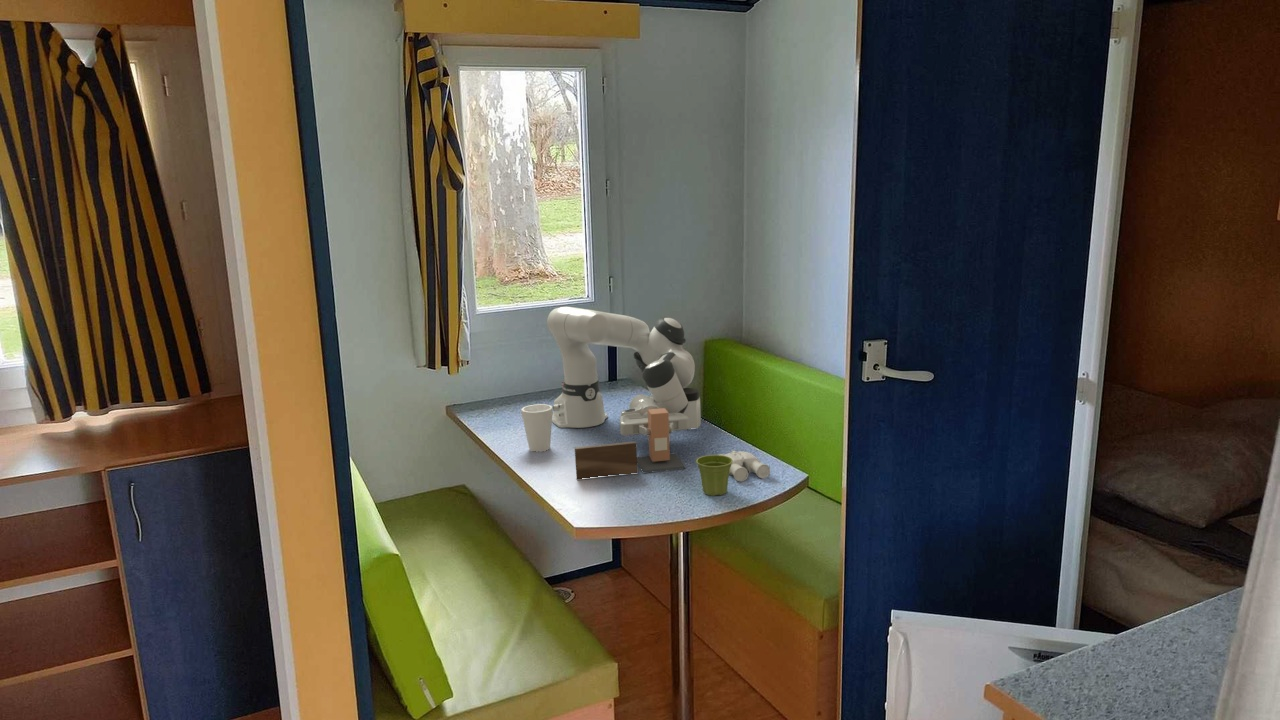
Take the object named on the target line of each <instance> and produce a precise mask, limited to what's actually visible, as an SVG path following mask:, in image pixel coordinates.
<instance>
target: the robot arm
mask: <svg viewBox="0 0 1280 720" xmlns="http://www.w3.org/2000/svg"><path fill="white" fill-rule="evenodd" d="M546 327H547V329H548V331H549V332H550V333H551V334H552V335H553V337H554V340H555V341H556V344H557V346H558V349H559V351H560V355H561V356H560V357H561V360H562V366H563V367H562V368H563V376H564V377H563V379H564V381H563V382H561V387H562V390H561V392H562V393H561V394H560V395H558V396H557V398H555V400H554V401H553V405H551V406H552V408H553V415H552V424H554V425H555V426H556V427H558V428H561V429H562V428H575V429H576V428H578V429H579V428H580V429H582V428H590V427H596V426H599V425H601V424H603V423H605V421H606V419H608V418H609V417H608V413H605V405H604V398H603V394H602V393H600V382H599V380H598V366H597V358H596V356H595V354H594V353H593V351H592V350H591V349H590V347H589V345H599V346H601V345H602V346H608V347H616V348H617V347H619V348H629V349H632V350H634V351H636V352H634V353H633V358H634V359H635V364H636V366H637V368H638V370H639V371H640V372H641V373H642V375H641V377H642V379H643V382H644V383H645V385H646V386H647V387H646V388H647V389H648V391H649V393H650V394H651V395H647V394H643V393H641V394H637V395H635V396H634V397H632V399H631V400H630V402H629V406H628V409H625V410H622V411H621V412H620V418H619V430H620V431H619V432H620V435H621V436H627V437H628V436H635V435H636V436H637V435H644V436H645V437H647V436H649V435H651V433H650V432H651V431H650V428H648V409H660V408H665V409H666V410H667V412H668V414H669V434H673V433H674V432H675V431H688V430H687V429H688V428H689V418H688V417H687V416H686V415H684V414H683V413H684V412H685V410H686V408H687V406H688V400H687V397H686V395H685V393H684V391H683V388H688V386H689V385H690V384H691V383H692V381H693V379H694V377H695V371H696V370H695V369H696V368H695V367H696V365H695V361H694V357H693V355H692V354H691V353H690V352H689V351H687V350H685V348H683V344H685V343H686V342H687V340H686V338H685V331H684V328H683V325H682V324H681V323H680V322H679V321H678V320H676V319H674V318H672V317H667V316H664V317H663V316H662V317H660V318H658V320H657V321H656V322H655V323H654V326H653V328H652V329H651V331H650V327H649V326H648V324H647V323H646V322H645V321H644V320H642V319H638V318H637V317H633V316H629V315H624V314H617V313H611V312H606V311H605V312H604V311H601V310H600V311H599V310H593V309H587V308H581V307H575V306H574V307H573V306H561V307H555V308H554V309H552V310H551V311H550V312H549V314H548V315H547V319H546Z"/></svg>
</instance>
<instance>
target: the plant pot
mask: <svg viewBox="0 0 1280 720" xmlns="http://www.w3.org/2000/svg"><path fill="white" fill-rule="evenodd" d="M732 462H733V460H732V459H731V458H730V457H727V456H722V455H719V454H707V455H703V456H699V457H698V458H697V459H696V462H695V463H696V465H697V466H698V467H697V468H698V469H699V474H700V479H701V485H702V486H701V487H702V491H703V493H704V494H705V495H708V496H717V495H719V496H722V495H725V494H726V493H727V492H728V484H729V478H730V477H729V476H730V474H729V471H730V467H731V464H732Z"/></svg>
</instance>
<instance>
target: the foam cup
mask: <svg viewBox="0 0 1280 720" xmlns="http://www.w3.org/2000/svg"><path fill="white" fill-rule="evenodd" d="M552 406H553V405H550V404H547V403H546V404H545V403H542V404H541V403H536V404H531V405H526V406H523V407H522V408H521V409H520V412H521V418H522V421H523V425H524V430H525V435H526V440H527V444H528V445H527V446H528V448H529V451H530V452H532V451H536V452H535V453H539V452H538V451H544V452H547V451H549V450H550V449H551V443H552V442H551V440H552V439H551V438H552V424H553V422H552V415H553V412H554V411H553V408H552ZM548 449H549V450H548ZM546 450H547V451H546Z"/></svg>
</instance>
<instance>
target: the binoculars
mask: <svg viewBox="0 0 1280 720" xmlns="http://www.w3.org/2000/svg"><path fill="white" fill-rule="evenodd" d="M718 455H722V456H727V457H730V458H731V459H732V460H733V462H732V464H731V467H730V471H729V476H733V478H734V479H735V481H737V482H740V483H742V482H744V481H746V480H747V479H748V477H749V473H754V474H756V476H757V477H758V478H760V479H765V478H767V477H768V476H769V475H770V474H771V468H770V466H769V465H768V464H766V463H762V462H761V461H760V460H759V458H757V456H755V455H753V454H752V453H751V452H748V451H742V450H740V451H736V450H732V451H731V452H728V453H725V454H724V453H719V454H718Z"/></svg>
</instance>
